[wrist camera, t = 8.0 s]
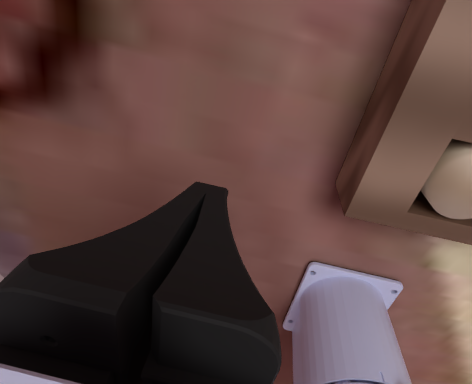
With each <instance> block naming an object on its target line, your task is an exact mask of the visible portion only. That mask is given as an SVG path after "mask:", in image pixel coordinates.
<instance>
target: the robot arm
mask: <svg viewBox="0 0 472 384" xmlns="http://www.w3.org/2000/svg"><path fill="white" fill-rule="evenodd" d="M227 196H228V190H227V189H226V188H223V187H218V186H214V185H209V184H205V183H200V182H195V183H194V184H192V185H191V186H190V187H188V188H187V189H186V190H185V191H183V192H182V193H181V194H179V195H178V196H177V197H175V198H174V199H173V200H171V201H170V202H168V203H167V204H165V205H164V206H162V207H161V208H159V209H158V210H156V211H154V212H153V213H151V214H149V215H148V216H146V217H144V218H142V219H140V220H139V221H137V222H134V223H132V224H130V225H128V226H126V227H124V228H121V229H118V230H116V231H113V232H111V233H108V234H106V235H103V236H100V237H98V238H94V239H91V240H88V241H85V242H82V243H78V244H75V245H71V246H67V247H63V248H59V249H55V250H50V251H46V252H41V253H37V254H32V255H29V256H28V257H27V258H26V259H25V260H24V261H22V262H21V263H20V264H19V265H18V266H17V267H16V268H15V269H14V270H13V271H12V272H11V273H10V274H9V275H8V276H7V277H5V278H4V279H3V280H2V281H1V282H0V384H273V382H274V380H275V378H276V376H277V374H278V372H279V370H280V366H281V346H280V338H279V333H278V327H277V323H276V319H275V315H274V313H273V312H272V310H271V309H270V308H269V306H268V305H267V303H266V302H265V301H264V299H263V298H262V296H261V295H260V293H259V291H258V290H257V288H256V287H255V285H254V283H253V282H252V280H251V278H250V276H249V274H248V272H247V270H246V268H245V266H244V264H243V262H242V260H241V257H240V255H239V253H238V250H237V247H236V244H235V241H234V238H233V235H232V231H231V227H230V223H229V217H228V210H227ZM311 271H314V272H311ZM402 289H403V285H402V283H401V282H399V281H396V280H391V279H387V278H383V277H379V276H374V275H370V274H366V273H361V272H357V271H353V270H348V269H344V268H340V267H335V266H331V265H327V264H322V263H318V262H311V263H309V265H308V267H307V269H306V272H305V274H304V276H303V278H302V281H301V283H300V285H299V288H298V290H297V292H296V294H295V297H294V299H293V301H292V304H291V306H290V308H289V310H288V313H287V315H286V317H285V320H284V322H283V328H284V329H285V330H289V331H292V345H293V384H412V383H411V380H410V377H409V374H408V371H407V368H406V365H405V363H404V360H403V357H402V354H401V351H400V348H399V345H398V342H397V339H396V336H395V333H394V330H393V327H392V324H391V321H390V318H389V315H388V312H387V310H388V308H389V307H390V306H391V304H392V303H393V302H394V300H395V299H396V297H397V296H398V295H399V293H400V292H401V291H402Z"/></svg>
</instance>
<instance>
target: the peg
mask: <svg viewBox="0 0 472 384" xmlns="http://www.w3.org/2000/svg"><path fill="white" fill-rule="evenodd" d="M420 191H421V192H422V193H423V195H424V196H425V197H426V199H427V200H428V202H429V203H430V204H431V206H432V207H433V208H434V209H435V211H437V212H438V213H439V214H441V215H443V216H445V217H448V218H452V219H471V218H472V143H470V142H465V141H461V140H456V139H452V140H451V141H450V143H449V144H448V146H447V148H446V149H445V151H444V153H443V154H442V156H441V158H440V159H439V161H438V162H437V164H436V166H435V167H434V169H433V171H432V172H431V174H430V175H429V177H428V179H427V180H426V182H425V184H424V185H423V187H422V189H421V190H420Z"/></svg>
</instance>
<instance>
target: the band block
mask: <svg viewBox="0 0 472 384" xmlns="http://www.w3.org/2000/svg"><path fill="white" fill-rule="evenodd" d="M452 139H456V140H461V141H465V142H470V143H472V0H412V1H411V3H410V6H409V8H408V10H407V13H406V15H405V18H404V20H403V22H402V25H401V27H400V30H399V32H398V34H397V37H396V39H395V41H394V44H393V46H392V49H391V51H390V53H389V56H388V58H387V61H386V63H385V65H384V68H383V70H382V73H381V75H380V77H379V80H378V82H377V85H376V87H375V89H374V92H373V94H372V96H371V99H370V101H369V104H368V106H367V108H366V111H365V113H364V116H363V118H362V120H361V123H360V125H359V128H358V130H357V132H356V135H355V137H354V140H353V142H352V144H351V147H350V149H349V151H348V154H347V156H346V159H345V161H344V163H343V166H342V168H341V171H340V173H339V175H338V178H337V180H336V183H335V184H336V188H337V191H338V195H339V198H340V202H341V205H342V209H343V212H344V216H346V217H351V218H355V219H359V220H364V221H368V222H373V223H377V224H381V225H386V226H390V227H395V228H399V229H404V230H408V231H412V232H417V233H421V234H426V235H430V236H434V237H439V238H443V239H448V240H452V241H456V242H461V243H465V244H470V245H472V218H471V219H452V218H448V217H445V216H443V215H441V214H439V213H438V212H437V211H435V209H434V208H433V207H432V206H431V204H430V203H429V202H428V200H427V199H426V197H425V196H424V195H423V193H422V192H421V191H420V190H421V189H422V187H423V185H424V184H425V182H426V180H427V179H428V177H429V175H430V174H431V172H432V171H433V169H434V167H435V166H436V164H437V162H438V161H439V159H440V158H441V156H442V154H443V153H444V151H445V149H446V148H447V146H448V144H449V143H450V141H451V140H452Z"/></svg>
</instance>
